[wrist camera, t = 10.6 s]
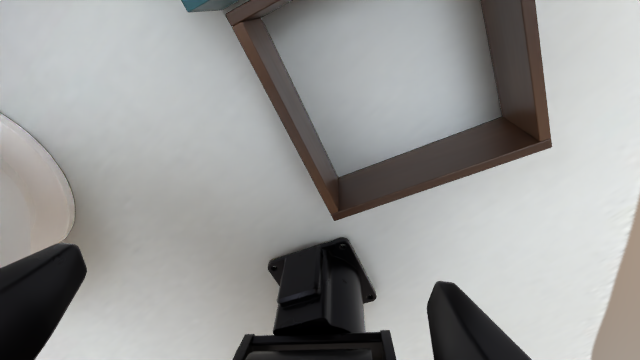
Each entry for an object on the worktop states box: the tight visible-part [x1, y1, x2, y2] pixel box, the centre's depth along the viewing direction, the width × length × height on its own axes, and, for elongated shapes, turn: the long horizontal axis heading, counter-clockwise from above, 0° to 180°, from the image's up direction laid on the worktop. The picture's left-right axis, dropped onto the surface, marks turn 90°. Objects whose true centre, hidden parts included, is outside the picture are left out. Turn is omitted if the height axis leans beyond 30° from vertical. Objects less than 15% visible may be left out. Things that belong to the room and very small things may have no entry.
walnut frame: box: [226, 0, 552, 221], centre depth 15 cm, size 11×11×4 cm
